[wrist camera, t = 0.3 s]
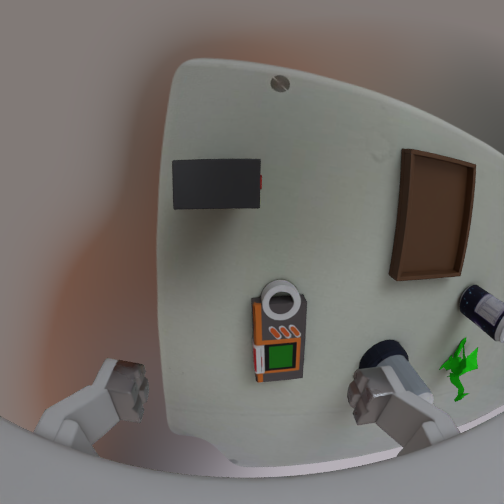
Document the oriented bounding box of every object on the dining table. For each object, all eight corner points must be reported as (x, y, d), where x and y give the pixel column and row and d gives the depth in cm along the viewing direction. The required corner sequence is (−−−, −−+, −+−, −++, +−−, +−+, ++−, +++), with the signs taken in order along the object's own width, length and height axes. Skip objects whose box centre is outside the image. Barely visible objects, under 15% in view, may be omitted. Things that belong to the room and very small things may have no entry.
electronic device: (308, 284, 33) (302, 381, 37) (302, 275, 36) (298, 369, 40) (250, 288, 33) (255, 386, 37) (249, 279, 36) (253, 373, 40)
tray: (401, 148, 31) (411, 148, 29) (466, 163, 32) (476, 164, 30) (388, 274, 36) (396, 281, 34) (451, 270, 37) (460, 276, 35)
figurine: (426, 384, 45) (452, 406, 36) (452, 331, 44) (483, 348, 35) (442, 385, 46) (467, 405, 37) (466, 335, 45) (496, 350, 36)
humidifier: (376, 383, 43) (437, 492, 19) (349, 368, 41) (413, 496, 17) (409, 351, 42) (487, 453, 18) (385, 331, 40) (474, 450, 16)
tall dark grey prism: (197, 160, 30) (172, 160, 17) (250, 160, 31) (264, 159, 17) (197, 189, 31) (173, 209, 18) (249, 188, 32) (263, 208, 18)
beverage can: (452, 311, 40) (493, 346, 29) (463, 281, 38) (509, 313, 27) (469, 311, 41) (509, 343, 29) (480, 283, 39) (523, 312, 28)
